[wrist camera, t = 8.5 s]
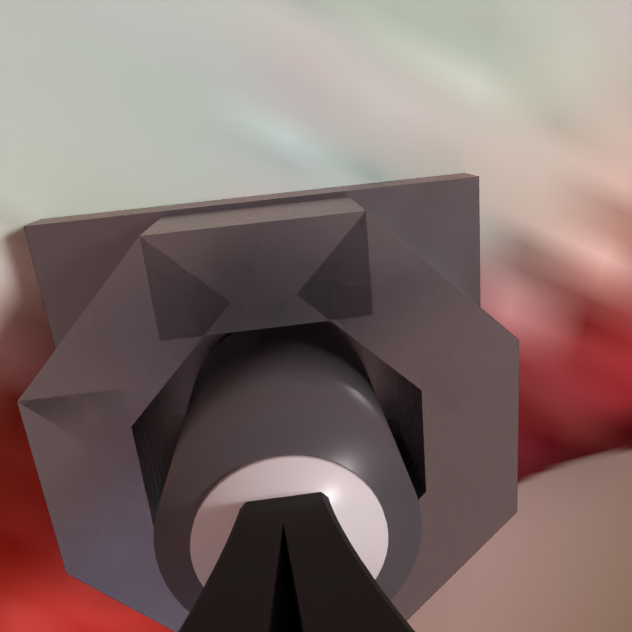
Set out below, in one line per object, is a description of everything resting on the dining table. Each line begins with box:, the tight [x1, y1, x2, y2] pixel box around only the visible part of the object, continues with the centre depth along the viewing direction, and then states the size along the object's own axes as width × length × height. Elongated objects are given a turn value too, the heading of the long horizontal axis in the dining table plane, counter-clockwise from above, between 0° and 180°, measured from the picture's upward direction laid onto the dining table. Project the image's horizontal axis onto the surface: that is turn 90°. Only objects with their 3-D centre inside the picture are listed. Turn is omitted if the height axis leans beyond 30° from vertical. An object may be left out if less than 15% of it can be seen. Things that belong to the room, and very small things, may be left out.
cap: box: [153, 323, 422, 612], centre depth 12 cm, size 4×4×5 cm
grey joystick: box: [17, 173, 519, 632], centre depth 14 cm, size 10×10×4 cm
